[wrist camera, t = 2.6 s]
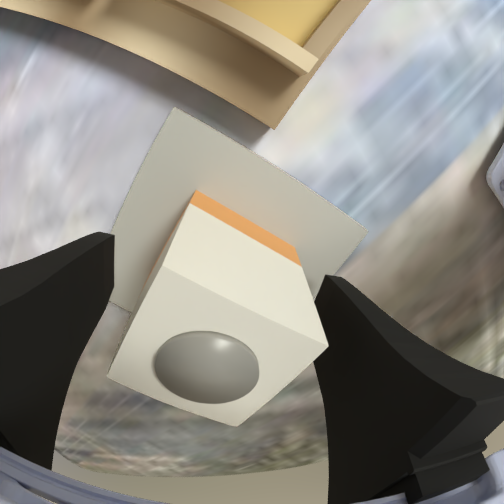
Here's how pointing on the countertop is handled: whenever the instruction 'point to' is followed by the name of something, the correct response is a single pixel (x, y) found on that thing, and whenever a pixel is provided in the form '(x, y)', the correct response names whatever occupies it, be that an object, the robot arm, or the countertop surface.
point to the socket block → (218, 41)
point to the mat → (228, 194)
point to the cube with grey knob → (219, 318)
